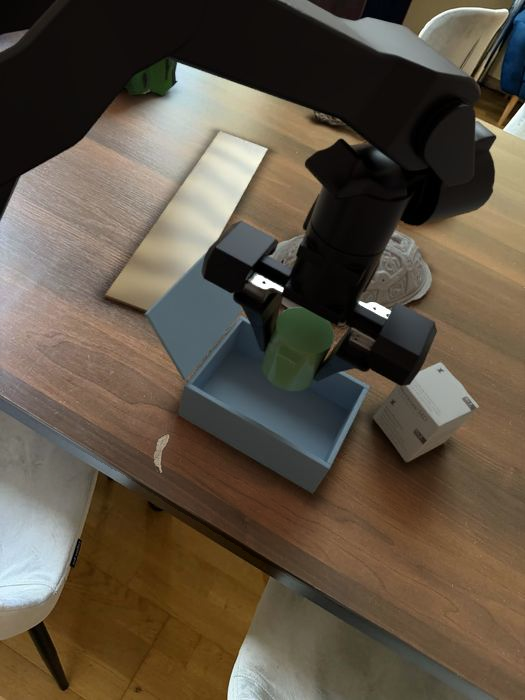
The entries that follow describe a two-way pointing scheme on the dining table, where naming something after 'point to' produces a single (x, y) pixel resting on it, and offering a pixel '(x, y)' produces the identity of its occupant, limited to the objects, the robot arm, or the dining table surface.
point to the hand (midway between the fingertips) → (291, 362)
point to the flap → (192, 318)
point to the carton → (270, 410)
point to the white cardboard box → (425, 411)
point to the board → (189, 222)
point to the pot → (296, 349)
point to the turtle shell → (380, 272)
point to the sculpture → (154, 79)
